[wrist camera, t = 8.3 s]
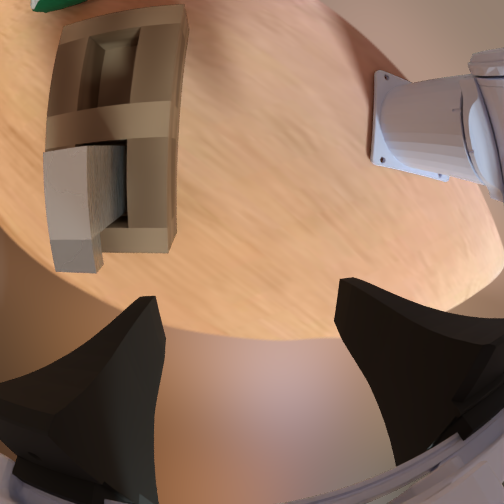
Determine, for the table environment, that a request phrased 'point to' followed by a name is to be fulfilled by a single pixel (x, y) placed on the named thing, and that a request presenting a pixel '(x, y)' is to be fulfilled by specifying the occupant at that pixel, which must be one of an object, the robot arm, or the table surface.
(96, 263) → the white rectangular pillar
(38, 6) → the green elongated piece
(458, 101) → the robot arm
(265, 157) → the table surface
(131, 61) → the tan divided tray
